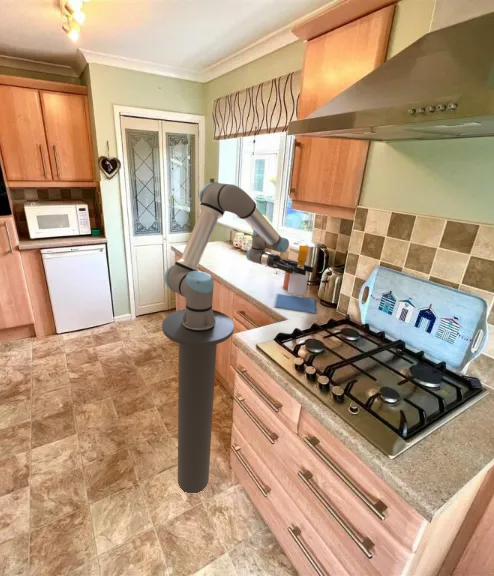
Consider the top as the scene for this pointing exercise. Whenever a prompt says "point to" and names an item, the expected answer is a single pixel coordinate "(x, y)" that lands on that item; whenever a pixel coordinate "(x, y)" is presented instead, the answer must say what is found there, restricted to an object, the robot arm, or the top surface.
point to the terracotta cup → (286, 280)
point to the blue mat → (295, 303)
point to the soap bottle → (299, 275)
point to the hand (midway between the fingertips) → (309, 271)
